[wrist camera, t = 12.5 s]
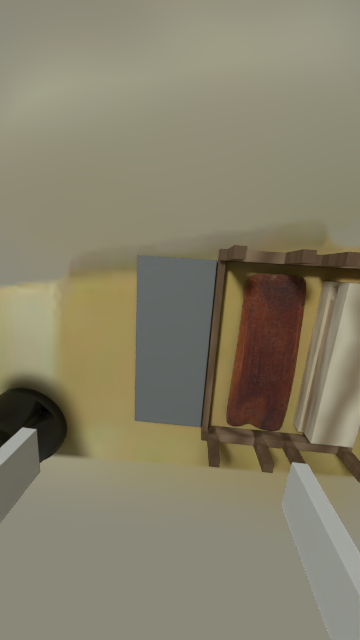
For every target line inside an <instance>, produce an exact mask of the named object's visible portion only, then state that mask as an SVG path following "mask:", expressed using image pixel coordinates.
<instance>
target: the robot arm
mask: <svg viewBox="0 0 360 640" xmlns="http://www.w3.org/2000/svg"><path fill="white" fill-rule="evenodd" d="M66 432H67V427H66V421H65V418H64V416H63V413H62V412H61V410H60V409H59V407H58V406H57V405H56V404H55V403H54V402H53V401H52V400H51V399H50V398H48V397H47V396H45V395H44V394H42V393H40V392H37V391H35V390H31V389H25V388H16V389H11V390H8V391H6V392H4V393H2V394H1V395H0V523H1V522H2V520H3V519H4V518H5V516H6V515H7V514H8V513H9V511H10V510H11V509H12V507H13V506H14V505H15V503H16V502H17V501H18V500H19V498H20V497H21V496H22V494H23V493H24V492H25V490H26V489H27V488H28V486H29V485H30V484H31V483H32V481H33V480H34V479H35V477H36V476H37V475H38V474H39V472H40V465H39V463H41V462H42V461H43V460H45V459H47V458H49V457H50V456H52V455H53V454H54V453H55V452H56V451H57V450H58V449H59V447H60V446H61V445H62V443H63V442H64V440H65V437H66ZM281 506H282V509H283V511H284V514H285V517H286V520H287V523H288V525H289V528H290V531H291V534H292V536H293V539H294V542H295V544H296V547H297V550H298V553H299V555H300V558H301V561H302V564H303V566H304V569H305V572H306V575H307V577H308V580H309V583H310V586H311V588H312V591H313V594H314V597H315V599H316V602H317V605H318V607H319V610H320V613H321V615H322V618H323V621H324V624H325V627H326V629H327V632H328V635H329V638H330V640H360V553H359V552H358V550H357V548H356V546H355V545H354V543H353V541H352V539H351V538H350V536H349V535H348V533H347V531H346V529H345V527H344V526H343V524H342V522H341V521H340V519H339V517H338V515H337V514H336V512H335V510H334V509H333V507H332V505H331V503H330V502H329V500H328V498H327V497H326V495H325V493H324V492H323V490H322V488H321V486H320V485H319V483H318V481H317V479H316V477H315V476H314V474H313V472H312V471H311V469H310V467H309V465H308V464H302V463H295V462H292V464H291V468H290V472H289V476H288V480H287V484H286V487H285V491H284V495H283V500H282V503H281Z"/></svg>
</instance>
